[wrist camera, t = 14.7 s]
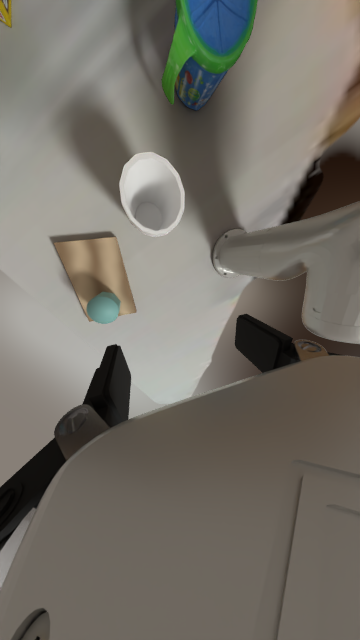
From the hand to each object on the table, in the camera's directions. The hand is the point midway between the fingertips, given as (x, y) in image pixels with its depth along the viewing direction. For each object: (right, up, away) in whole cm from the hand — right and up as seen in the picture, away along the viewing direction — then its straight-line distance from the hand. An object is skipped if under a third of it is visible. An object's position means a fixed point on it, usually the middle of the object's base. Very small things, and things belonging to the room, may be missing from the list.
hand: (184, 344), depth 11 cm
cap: (-18, +6, +24) cm, 30 cm away
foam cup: (-8, +25, +21) cm, 34 cm away
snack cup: (+2, +46, +15) cm, 48 cm away
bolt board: (-20, +11, +24) cm, 33 cm away
